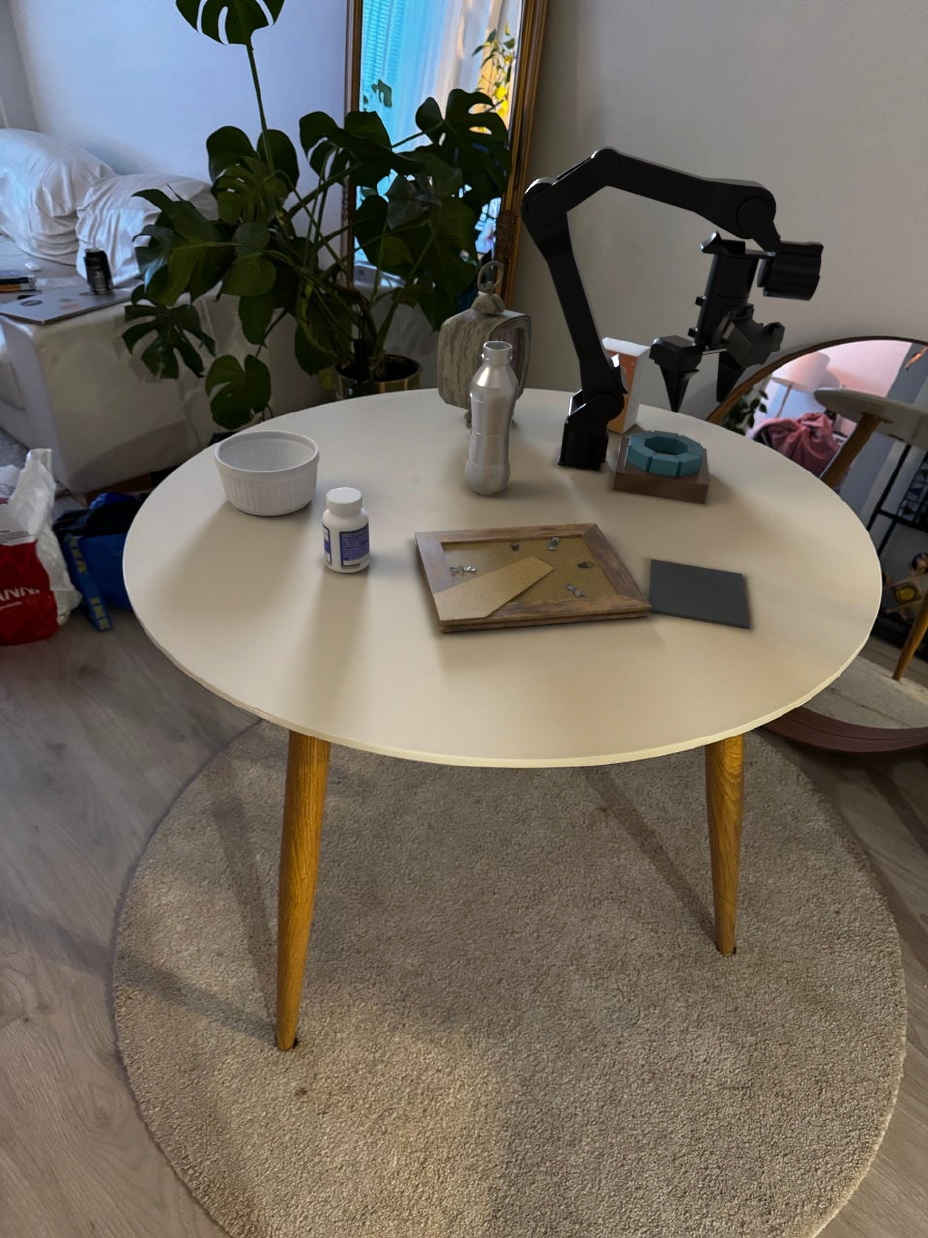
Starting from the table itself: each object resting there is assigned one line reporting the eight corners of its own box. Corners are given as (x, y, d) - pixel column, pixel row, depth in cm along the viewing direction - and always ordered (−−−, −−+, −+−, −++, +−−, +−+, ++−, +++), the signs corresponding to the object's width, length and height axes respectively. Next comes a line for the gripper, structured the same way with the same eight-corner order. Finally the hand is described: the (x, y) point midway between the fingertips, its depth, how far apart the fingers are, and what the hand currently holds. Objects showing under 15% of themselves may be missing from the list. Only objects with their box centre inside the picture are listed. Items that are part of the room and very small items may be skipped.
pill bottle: (377, 556, 91) (375, 489, 86) (358, 578, 87) (355, 510, 82) (337, 546, 92) (333, 480, 87) (317, 568, 88) (312, 500, 83)
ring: (624, 469, 108) (627, 454, 106) (628, 440, 116) (631, 426, 115) (700, 480, 106) (704, 465, 105) (698, 450, 115) (702, 436, 113)
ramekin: (298, 468, 109) (294, 422, 105) (338, 507, 100) (336, 459, 96) (207, 487, 103) (199, 439, 99) (242, 531, 94) (234, 480, 90)
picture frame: (439, 634, 80) (649, 617, 84) (440, 620, 79) (652, 604, 83) (414, 543, 94) (594, 532, 99) (414, 530, 93) (596, 520, 98)
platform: (612, 490, 109) (615, 471, 107) (617, 454, 119) (621, 436, 117) (704, 504, 107) (709, 485, 105) (701, 466, 117) (706, 448, 115)
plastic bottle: (456, 493, 105) (464, 348, 93) (473, 474, 110) (483, 334, 98) (499, 504, 104) (513, 357, 92) (515, 484, 109) (530, 342, 97)
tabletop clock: (478, 444, 119) (490, 274, 104) (431, 429, 123) (436, 263, 108) (523, 417, 129) (539, 258, 114) (478, 404, 133) (489, 249, 118)
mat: (648, 611, 85) (648, 608, 85) (650, 561, 94) (651, 558, 93) (748, 629, 83) (749, 626, 83) (741, 576, 92) (742, 573, 92)
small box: (578, 422, 129) (590, 344, 121) (593, 411, 133) (606, 335, 125) (623, 434, 125) (638, 355, 118) (636, 423, 130) (652, 346, 122)
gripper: (724, 315, 90) (692, 439, 99) (823, 302, 98) (785, 417, 108) (659, 291, 97) (634, 409, 106) (756, 281, 105) (725, 390, 115)
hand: (697, 406), depth 109 cm, fingers open, 9 cm apart
